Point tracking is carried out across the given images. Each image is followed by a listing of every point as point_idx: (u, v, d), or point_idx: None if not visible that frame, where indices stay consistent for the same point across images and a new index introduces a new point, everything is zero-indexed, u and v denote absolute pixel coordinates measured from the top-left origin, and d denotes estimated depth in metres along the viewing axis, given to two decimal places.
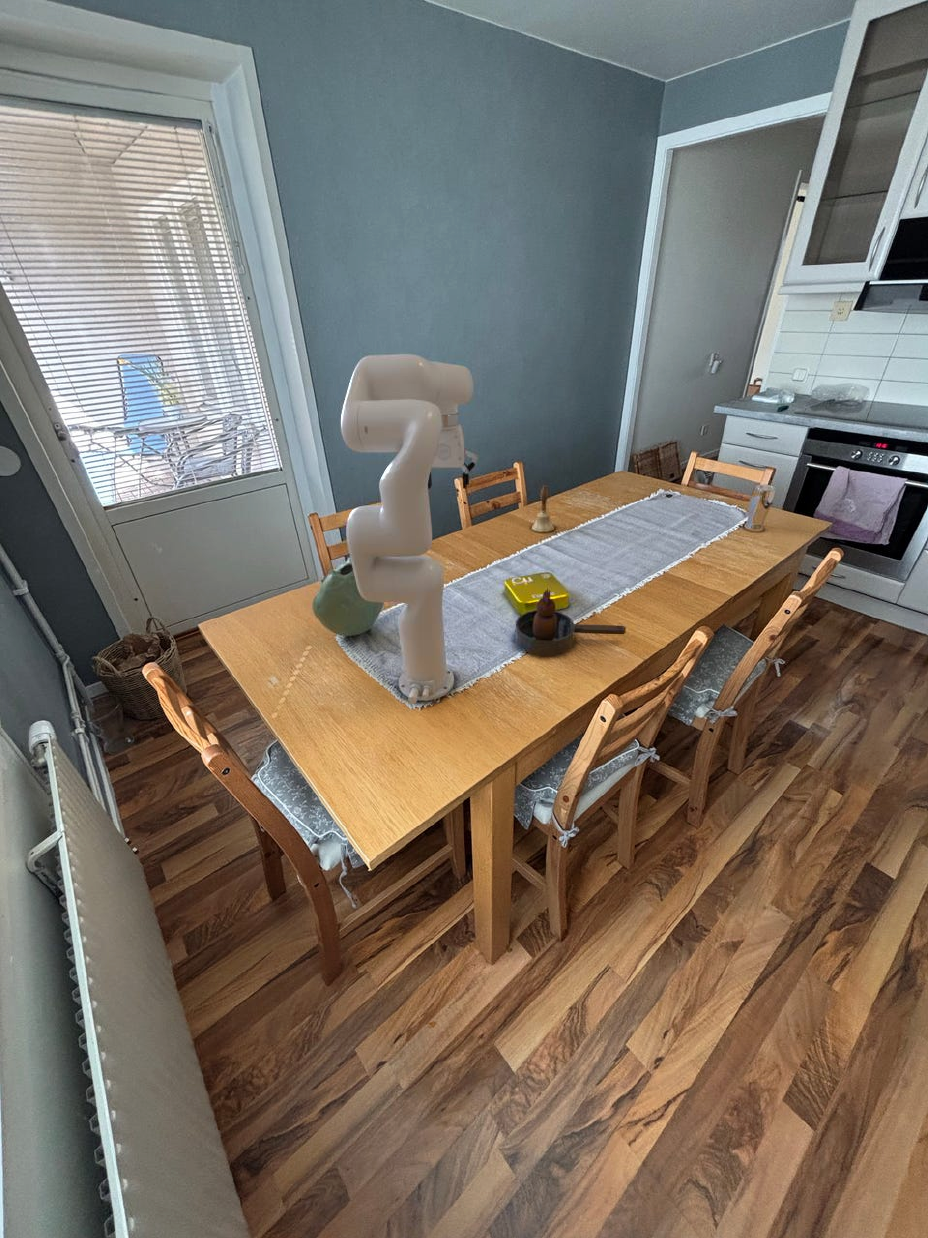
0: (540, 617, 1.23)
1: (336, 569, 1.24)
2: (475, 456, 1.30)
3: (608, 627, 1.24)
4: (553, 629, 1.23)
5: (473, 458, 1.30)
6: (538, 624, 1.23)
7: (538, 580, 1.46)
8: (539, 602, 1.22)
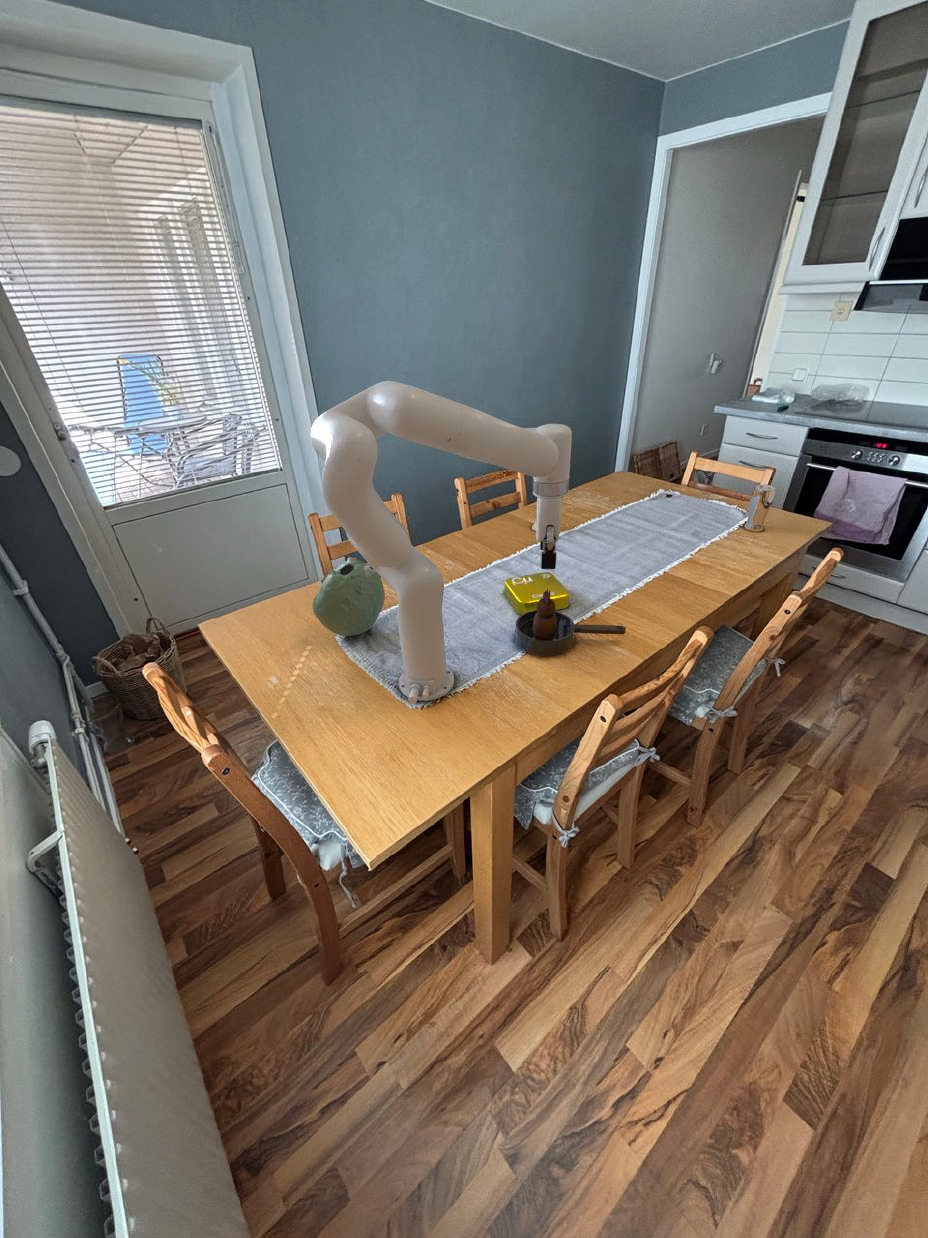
0: (540, 617, 1.23)
1: (336, 569, 1.24)
2: (547, 540, 1.06)
3: (608, 627, 1.24)
4: (553, 629, 1.23)
5: (547, 541, 1.06)
6: (538, 624, 1.23)
7: (538, 580, 1.46)
8: (539, 602, 1.22)
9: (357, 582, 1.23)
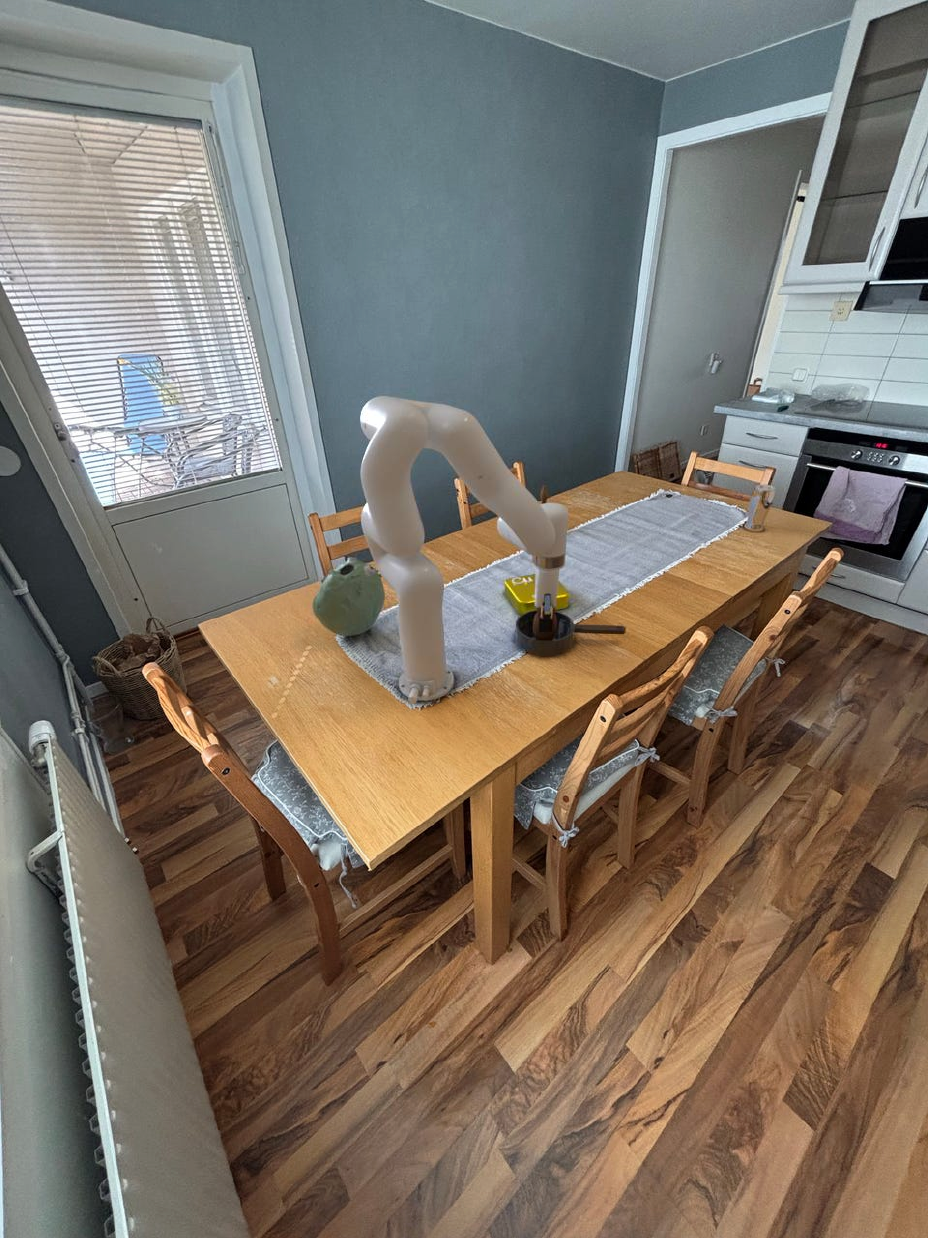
0: None
1: (336, 569, 1.24)
2: None
3: (608, 627, 1.24)
4: (553, 629, 1.23)
5: None
6: (538, 624, 1.23)
7: None
8: None
9: (357, 582, 1.23)
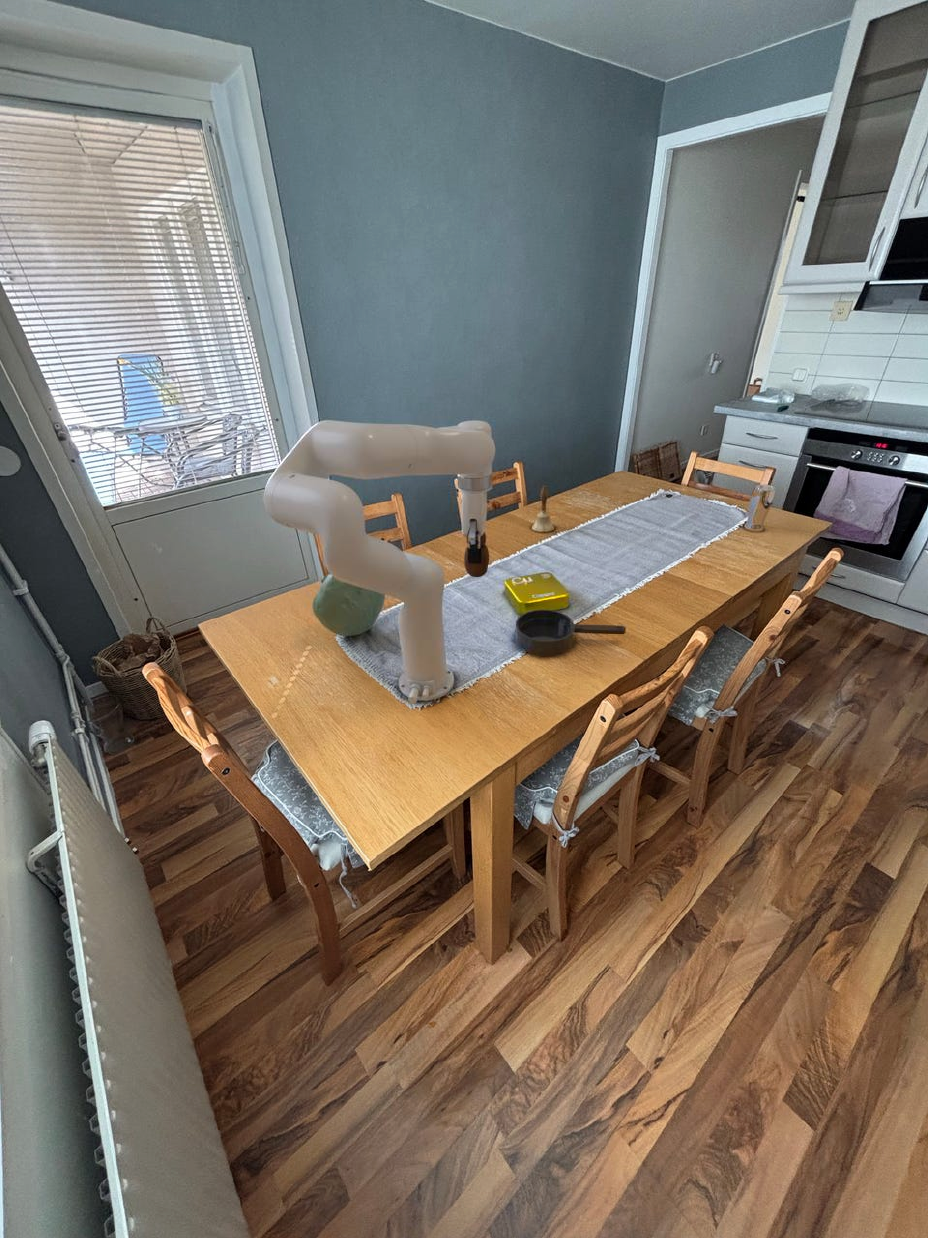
0: None
1: None
2: (469, 536, 1.09)
3: (608, 627, 1.24)
4: (484, 561, 1.17)
5: None
6: (467, 555, 1.17)
7: (538, 580, 1.46)
8: None
9: None
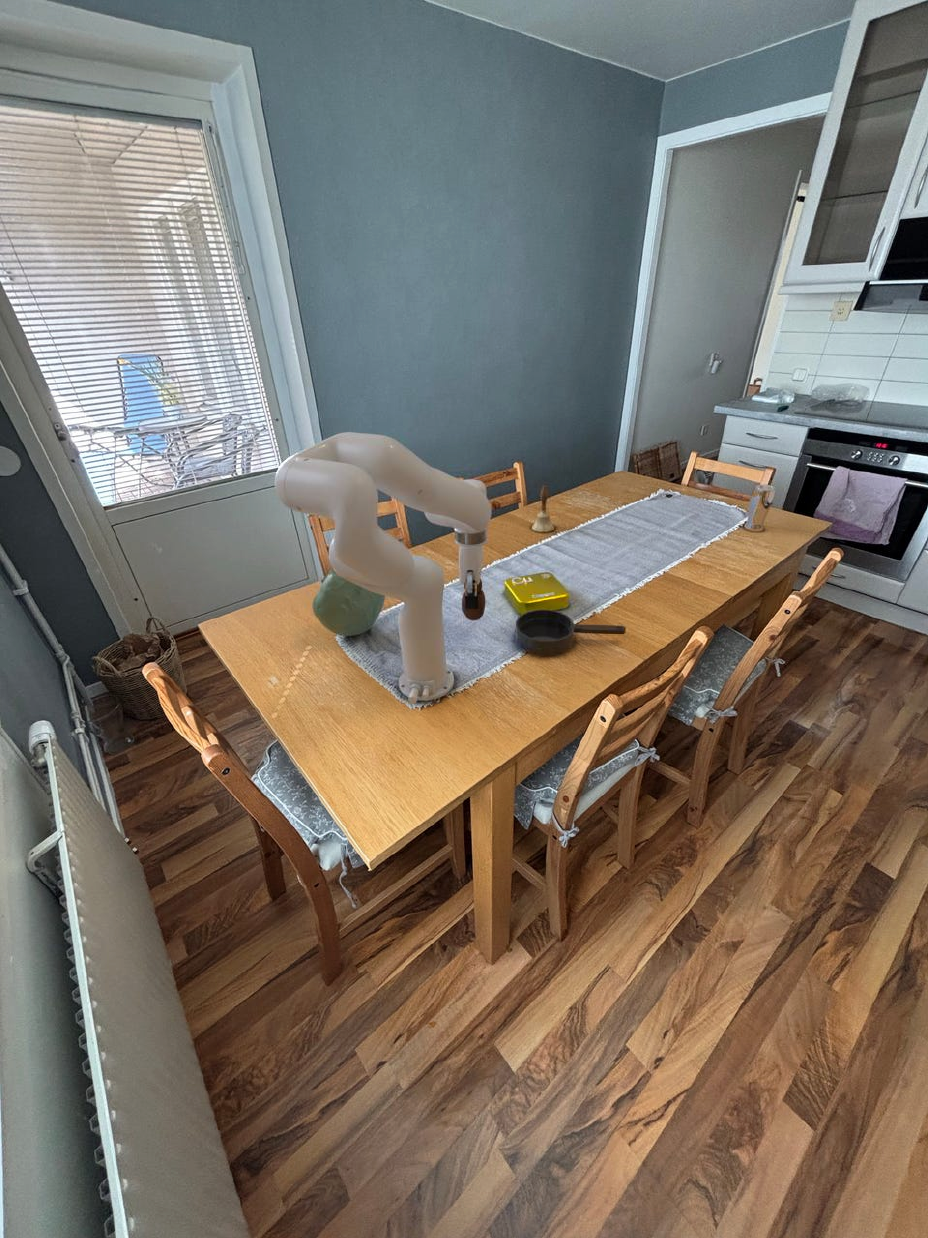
0: None
1: None
2: (466, 587, 1.16)
3: (608, 627, 1.24)
4: (480, 606, 1.24)
5: None
6: None
7: (538, 580, 1.46)
8: None
9: None
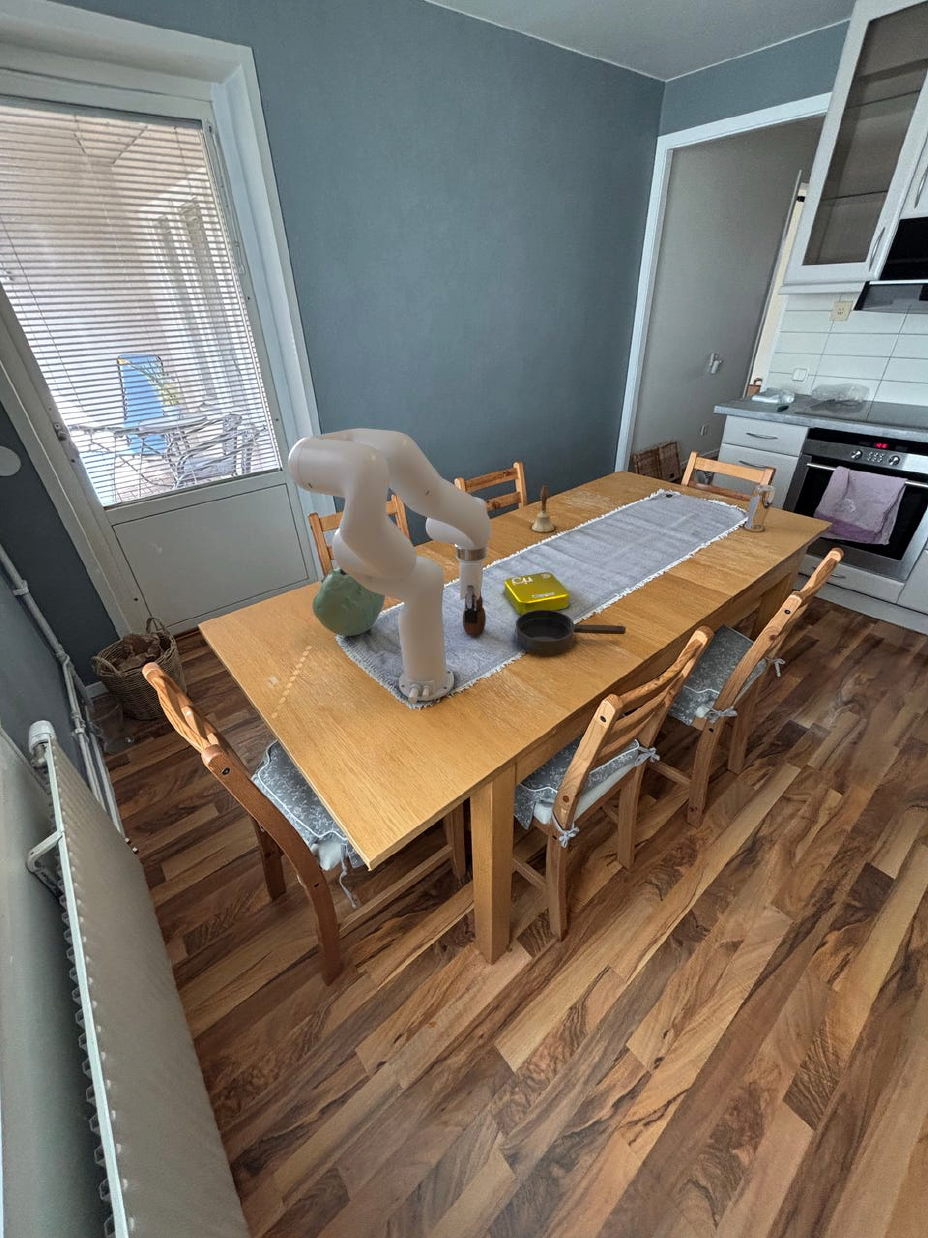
0: None
1: (336, 569, 1.24)
2: None
3: (608, 627, 1.24)
4: (481, 623, 1.27)
5: None
6: None
7: (538, 580, 1.46)
8: None
9: (357, 582, 1.23)
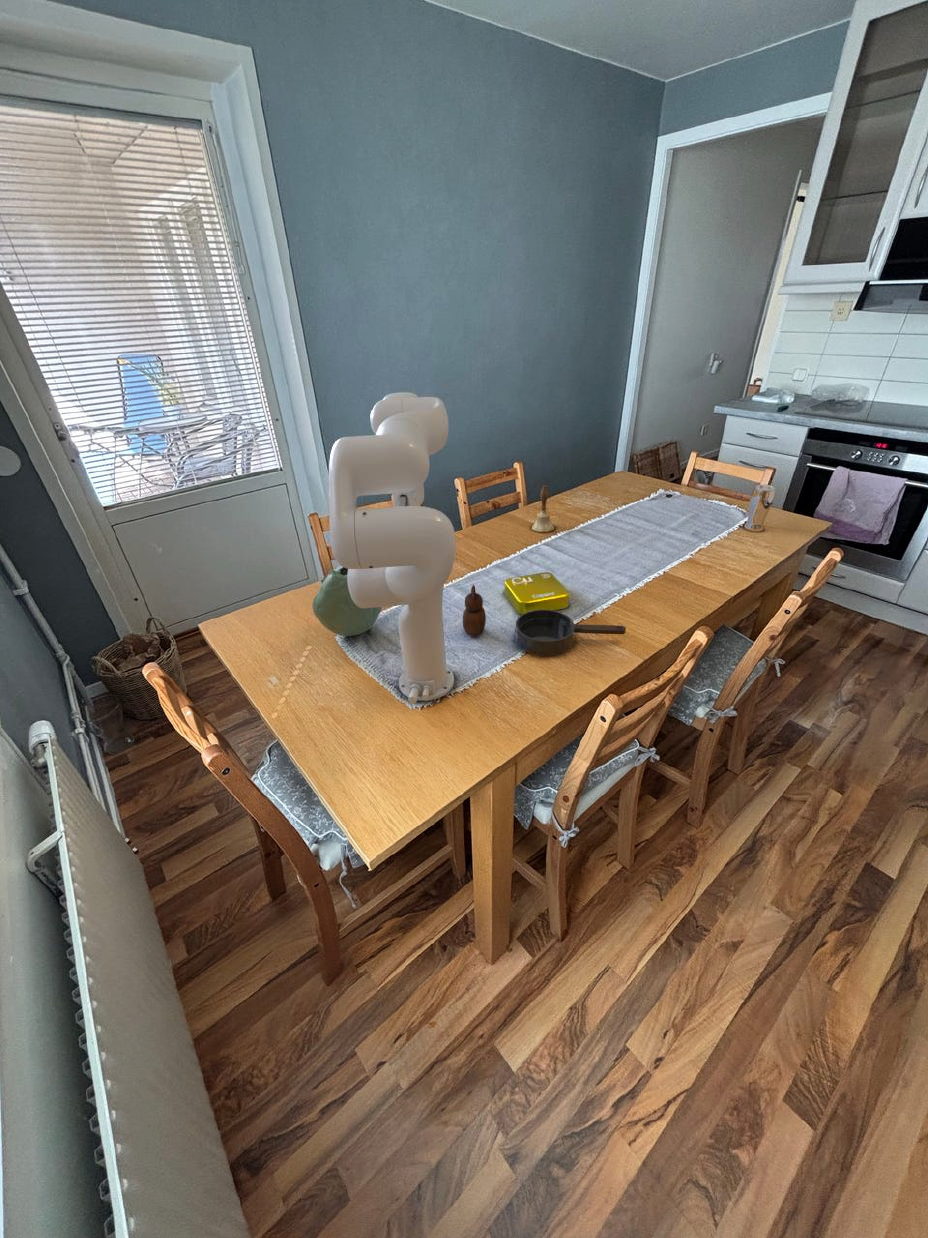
0: (468, 612, 1.27)
1: (336, 569, 1.24)
2: None
3: (608, 627, 1.24)
4: (481, 623, 1.27)
5: None
6: (466, 618, 1.27)
7: (538, 580, 1.46)
8: (466, 597, 1.26)
9: None
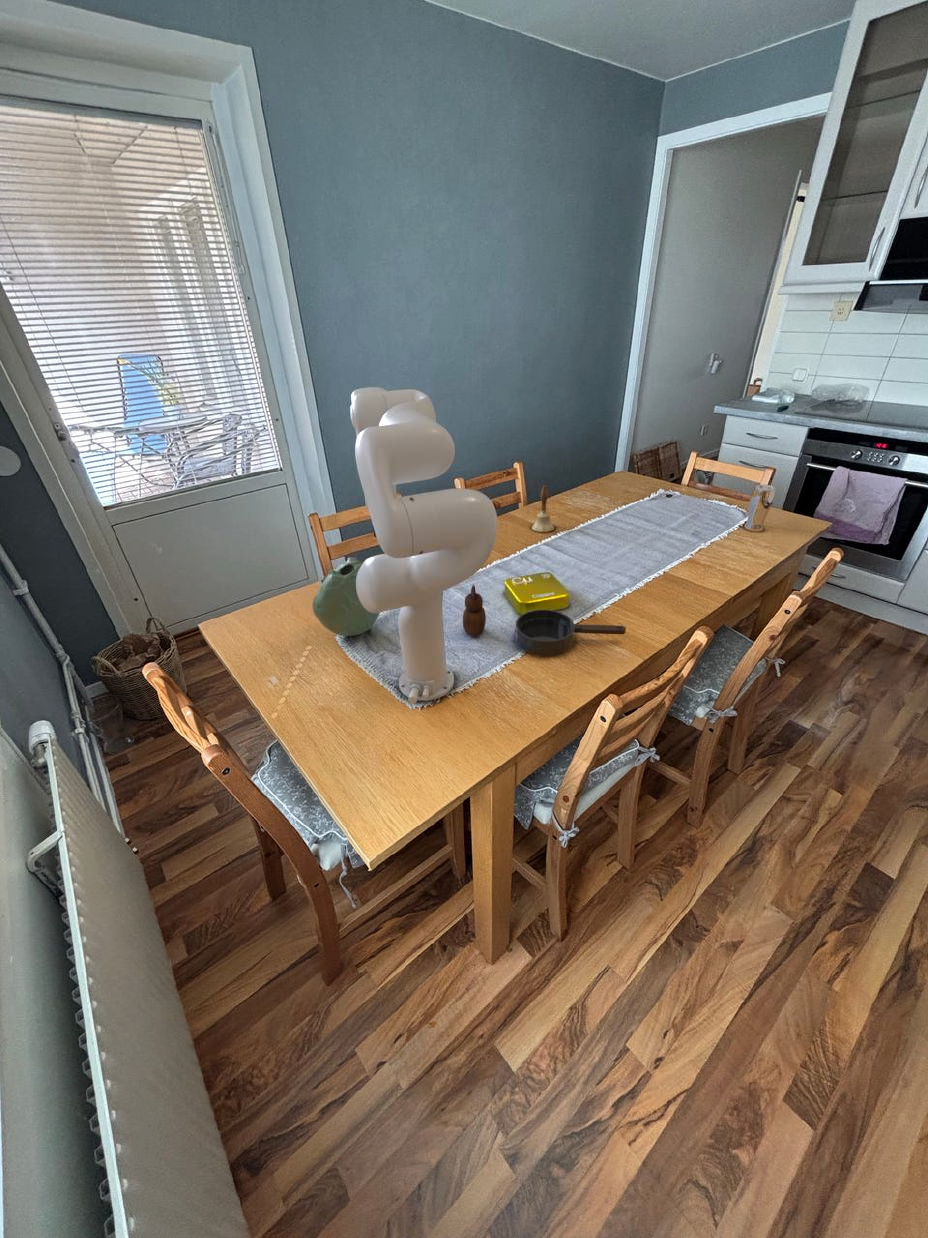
0: (468, 612, 1.27)
1: (336, 569, 1.24)
2: None
3: (608, 627, 1.24)
4: (481, 623, 1.27)
5: None
6: (466, 618, 1.27)
7: (538, 580, 1.46)
8: (466, 597, 1.26)
9: None
